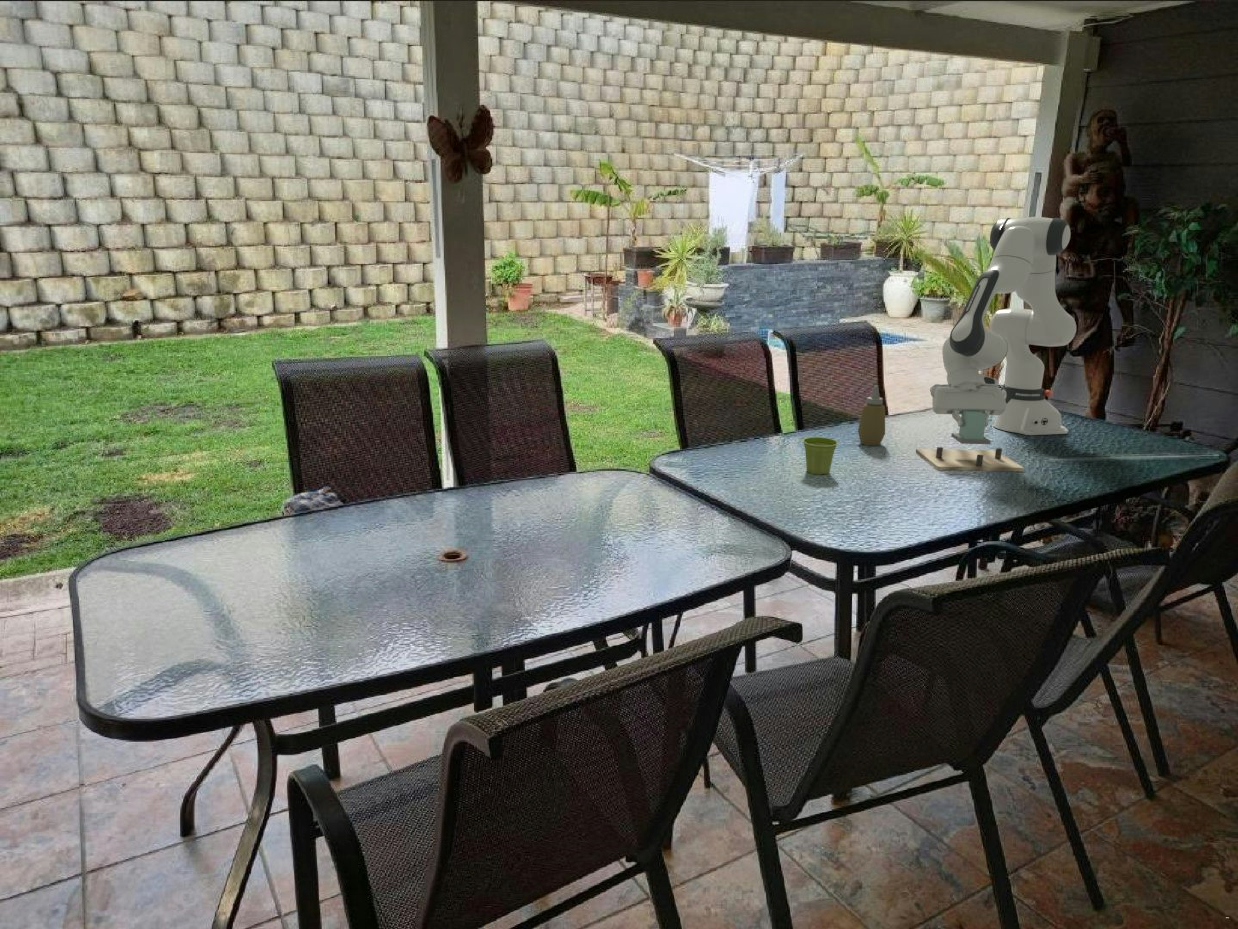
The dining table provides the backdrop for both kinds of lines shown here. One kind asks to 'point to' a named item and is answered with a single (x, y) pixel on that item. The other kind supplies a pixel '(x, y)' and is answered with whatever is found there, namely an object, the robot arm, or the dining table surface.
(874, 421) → the squeeze bottle
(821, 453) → the plant pot
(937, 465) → the locating board
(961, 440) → the flange block
